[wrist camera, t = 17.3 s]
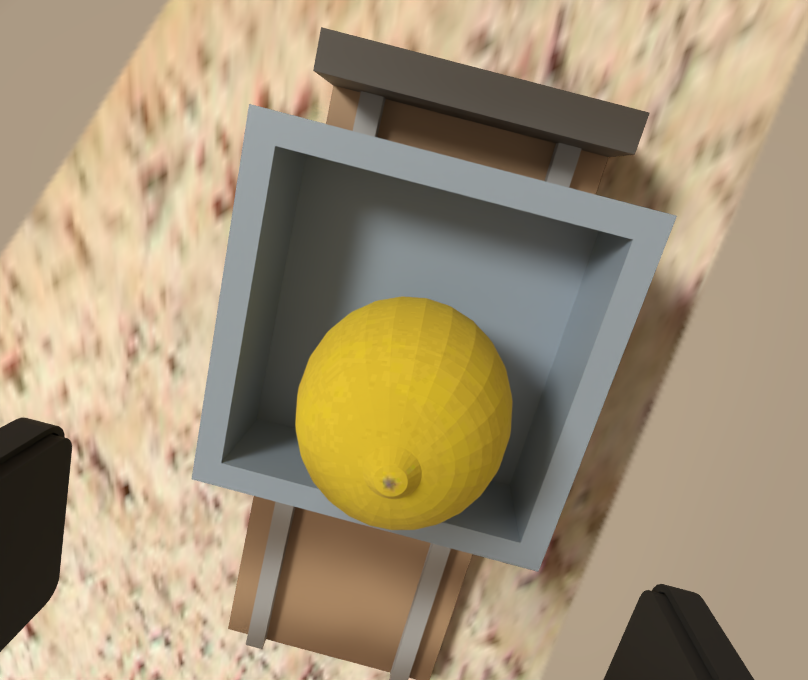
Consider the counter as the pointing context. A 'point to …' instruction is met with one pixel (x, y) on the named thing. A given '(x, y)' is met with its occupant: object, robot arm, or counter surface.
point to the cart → (424, 278)
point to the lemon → (403, 413)
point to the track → (355, 543)
